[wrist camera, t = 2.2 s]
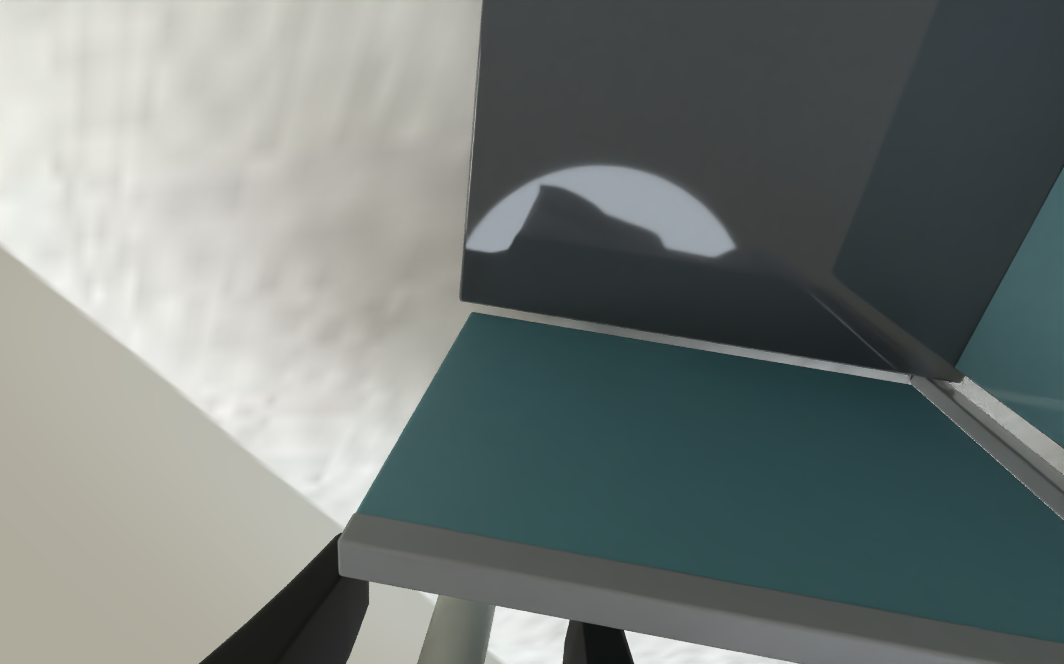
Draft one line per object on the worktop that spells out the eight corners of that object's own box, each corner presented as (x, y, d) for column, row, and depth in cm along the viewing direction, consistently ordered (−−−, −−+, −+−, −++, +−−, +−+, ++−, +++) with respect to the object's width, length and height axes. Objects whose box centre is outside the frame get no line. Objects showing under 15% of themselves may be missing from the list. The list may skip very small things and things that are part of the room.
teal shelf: (827, 549, 14) (1027, 933, 8) (456, 482, 15) (344, 790, 8) (913, 382, 12) (1299, 722, 5) (471, 309, 12) (334, 540, 6)
